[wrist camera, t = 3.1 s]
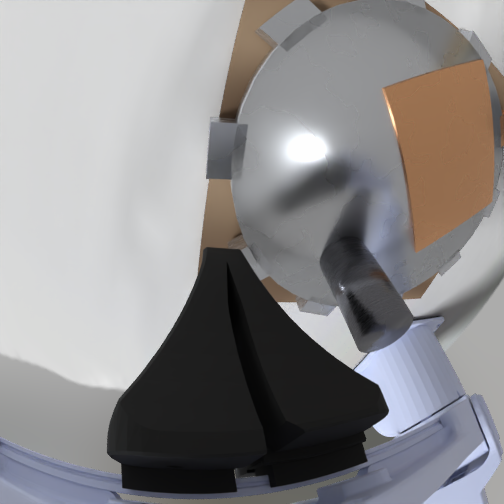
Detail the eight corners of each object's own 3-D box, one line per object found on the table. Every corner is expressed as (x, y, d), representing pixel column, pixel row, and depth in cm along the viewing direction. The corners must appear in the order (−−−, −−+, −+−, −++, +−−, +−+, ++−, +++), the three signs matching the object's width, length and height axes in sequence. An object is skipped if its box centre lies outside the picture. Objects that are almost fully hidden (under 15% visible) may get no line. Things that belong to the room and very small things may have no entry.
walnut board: (418, 296, 19) (420, 298, 18) (195, 296, 15) (195, 299, 14) (511, 89, 8) (514, 90, 8) (266, -67, 4) (267, -69, 4)
